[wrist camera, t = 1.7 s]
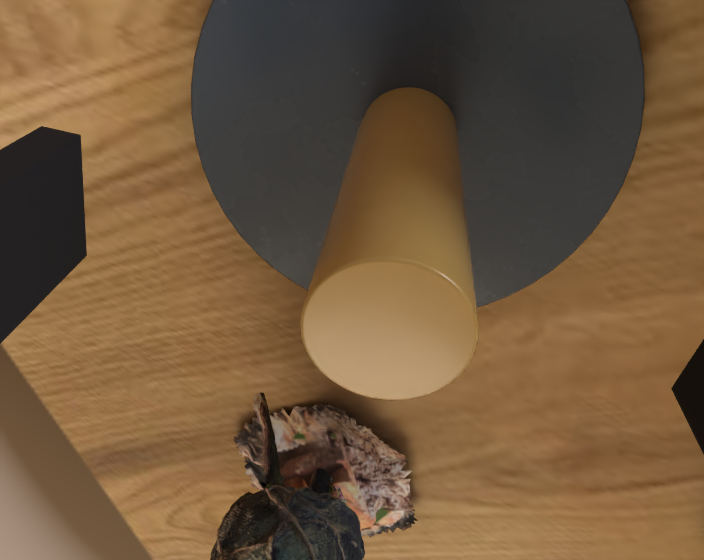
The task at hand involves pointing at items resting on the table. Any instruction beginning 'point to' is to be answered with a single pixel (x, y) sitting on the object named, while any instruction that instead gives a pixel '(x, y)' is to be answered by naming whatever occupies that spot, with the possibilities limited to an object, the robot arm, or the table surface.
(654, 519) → the table surface
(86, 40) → the table surface
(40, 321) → the table surface
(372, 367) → the lid
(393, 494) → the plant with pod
